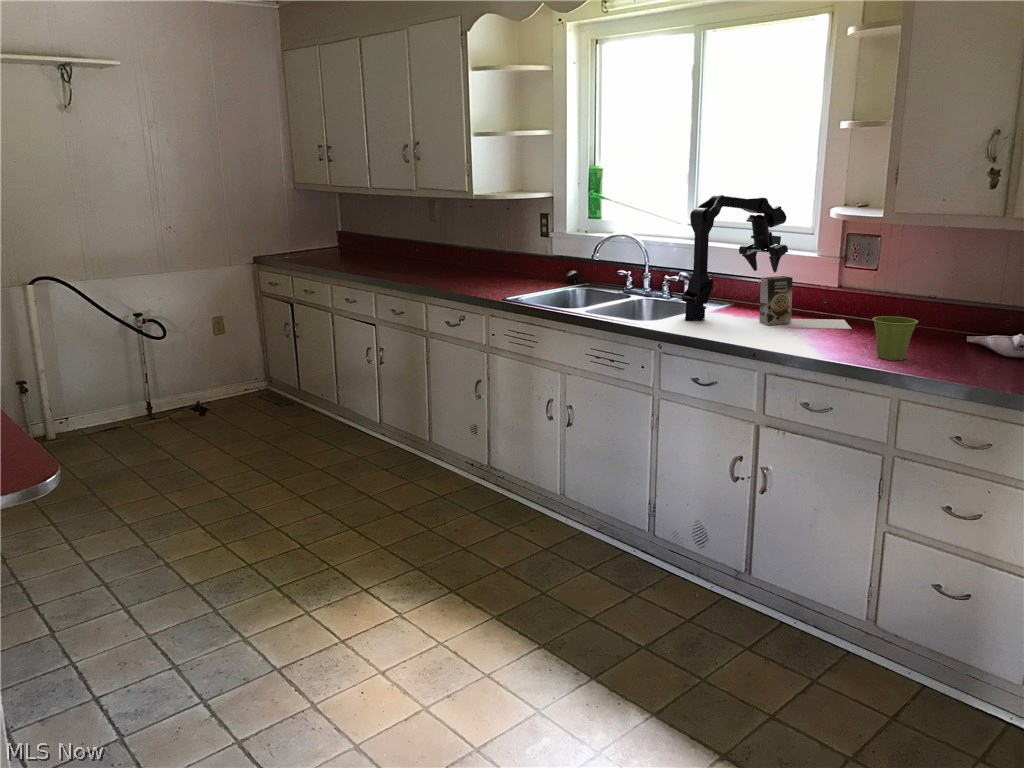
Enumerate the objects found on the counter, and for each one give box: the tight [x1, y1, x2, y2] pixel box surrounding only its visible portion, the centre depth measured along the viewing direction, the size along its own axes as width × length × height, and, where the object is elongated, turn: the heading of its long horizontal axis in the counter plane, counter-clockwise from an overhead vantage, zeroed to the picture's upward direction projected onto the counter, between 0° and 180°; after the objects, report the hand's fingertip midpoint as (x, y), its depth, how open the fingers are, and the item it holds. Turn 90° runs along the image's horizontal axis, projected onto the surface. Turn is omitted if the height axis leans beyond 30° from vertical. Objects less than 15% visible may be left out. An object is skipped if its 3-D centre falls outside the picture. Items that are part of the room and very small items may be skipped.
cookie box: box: [759, 275, 793, 326], centre depth 285 cm, size 9×6×16 cm
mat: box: [786, 318, 853, 330], centre depth 284 cm, size 20×16×1 cm
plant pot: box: [872, 315, 919, 361], centre depth 232 cm, size 12×12×11 cm
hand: (765, 271), depth 307 cm, fingers open, 9 cm apart
